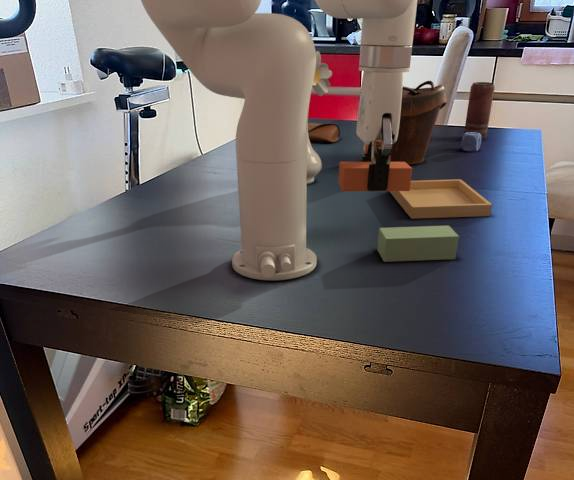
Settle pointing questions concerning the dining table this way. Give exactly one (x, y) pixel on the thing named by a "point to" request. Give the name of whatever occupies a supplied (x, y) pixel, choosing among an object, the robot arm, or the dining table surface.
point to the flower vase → (312, 157)
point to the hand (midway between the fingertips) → (373, 184)
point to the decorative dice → (471, 141)
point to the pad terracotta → (356, 176)
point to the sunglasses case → (323, 132)
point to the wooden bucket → (417, 122)
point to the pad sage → (417, 243)
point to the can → (479, 108)
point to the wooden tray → (442, 200)
